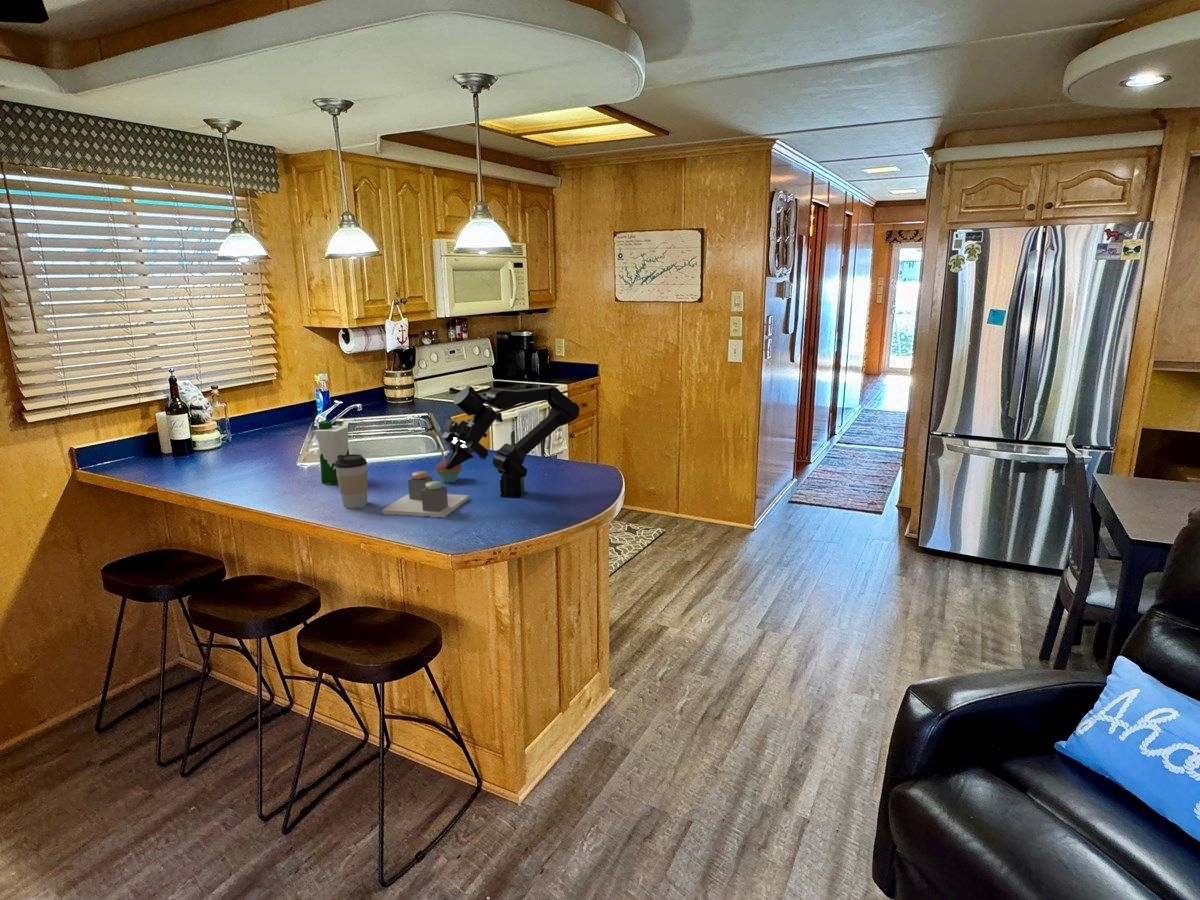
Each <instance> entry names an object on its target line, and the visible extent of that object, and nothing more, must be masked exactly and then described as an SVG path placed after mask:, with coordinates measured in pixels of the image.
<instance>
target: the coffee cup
mask: <svg viewBox="0 0 1200 900" xmlns="http://www.w3.org/2000/svg"><path fill="white" fill-rule="evenodd" d="M367 464H368V461H367V459H366V458H365V457H364V456H363V455H362V454H357V453H356V454H355V453H354V454H353V453H351V454H350V453H349V455H344V456H340V457H339V458H338V460H337V461H336V462H335V467H336V471H337V479H338V484H337V485H338V488H339V494H340V496H341V501H342V507H343V508H345V507H348V508H347V509H357V508H356V507H359V508H362V507H361V506H363V507H365V506H367V505H368V489H369V487H368V485H369V484H368V470H367V468H368V467H367V466H368V465H367ZM366 504H367V505H366ZM364 505H365V506H364Z"/></svg>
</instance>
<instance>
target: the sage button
mask: <svg viewBox="0 0 1200 900" xmlns="http://www.w3.org/2000/svg"><path fill="white" fill-rule="evenodd" d="M442 486H443V482H442V481H439V480H438V481H437V480H434V481H431V482H427V483H426V484H425V487H426V489H427V490H435V491H438V489H440V488H442Z"/></svg>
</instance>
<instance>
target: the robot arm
mask: <svg viewBox="0 0 1200 900" xmlns="http://www.w3.org/2000/svg"><path fill="white" fill-rule="evenodd" d="M541 401H546V402H547V404H548V405H549V407H550V409H549V412H548V414H547V416H546V417H545V418H544V419H542V421H541V422H539V423H538V424H537V425H536V426H534V427H533V428H532V429H530V431H529V432H528V433H527V434H525V435H524V436H523V437H522V438H521V439H519V440H518V441H517V442H516V443H514V444H510V443H507V442H505V443H504V444H503V445H502V446H501V447H500V448H499V449H497V450H495V454H494V455H493V457H492V464H493V467H494V468H495V469H496V470H497V472H498V474H499V475H500V474H501V475H500V480H499V489H500V490H499V491H500V494H499V496H500V497H502V496H508V497H507V498H521V497H522V496H523V495H524V494H525V493H526V492H527V489H525V477H527V475H528V469H527V468H526V467H525V466H524V465H523V464H524V462H525V459H526V457H527V455H528V454H529V453H530V452H532V451H533V450H534V449H535V448H537V446H539V445H540V444H541V443H542V442H543V441H544V440H546V438H547V437H549V436H550V435H551V434H552V433H554V431H556V430H557V429H558V428H560V427H563V426H566V425H568V424H570V423H572V422H573V421H575V420H576V419H577V418H579V416H580V407H579V405H578V403H577V402H574V401H572V400H571V399H570V397H568V396H566V395H565V394H564V393H563V392H561V391H560V390H559V388H558V387H555V386H551V385H546V386H541V387H532V388H531V387H530V388H523V389H507V388H506V389H504V388H495V387H492V388H490V389H488V391H487V392H485V393H481V394H479V393H478V392H477V391H476V390H475V388H474V387H473V386H471V385H467V386H466V387H465V388H463V389H461V390H460V391H459V392H457V393H456V395H455V396H454V398H453V401H452V402H453V404H454V405H455V406H456V407H457V408H459V409H460V410H461V411H462V412H464V414H466V415H467V416H469V417H470V416H472V417H471V419H470V420H465V421H464V420H462V419H459V420H458V421H454V420H451V419H447V418H446V421H445V422H444V423H445V424H444V425H443V426H444V427H443V430H444V432H443V434H442V435H441V439H443V440H444V441H445V442H447V443H448V444H449V446H450V452H449V455H448V458H447V460H448V461H447V464H446V468H447V469H448V470H450V469H451V468H453V467H455V466H457V465H459V464H460V463H461V464H462V463H464V462H466V461H468V460H470V459H474V458H475V456H473V455H474V453H475V454H477V455H478V458H479V459H481V460H483V461H484V460H486V458H487V457H488V456H489V449H487V448H486V447H485V446H484V445H482V444H481V443H480V441H481V440H482V438H487V436H488V433H487V432H488V431H489V430H490V428H491V427H492V425H493V424H494V422H495V421H496V422H499V423H503V418H502V415H503V414H502V412H499V411H496V410H494V409H497V410H501V411H504V410H509V409H511V408H513V407H516V406H517V405H519V404H525V403H527V404H528V403H534V402H541ZM486 405H488V407H487V406H486ZM524 490H525V491H526V492H525V491H524ZM524 492H525V493H524ZM523 493H524V494H523ZM522 494H523V495H522ZM521 495H522V496H521ZM509 496H511V497H509ZM520 496H521V497H520Z"/></svg>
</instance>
